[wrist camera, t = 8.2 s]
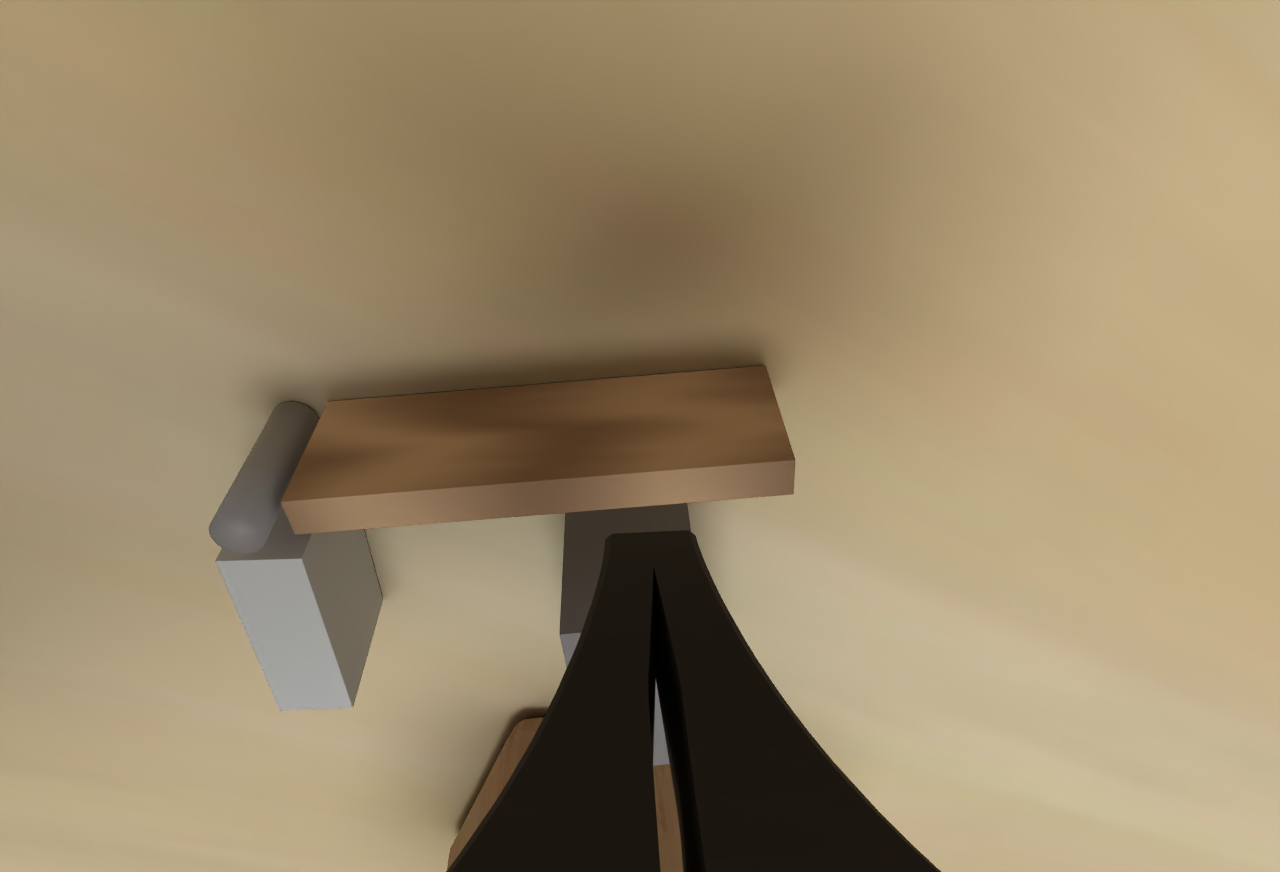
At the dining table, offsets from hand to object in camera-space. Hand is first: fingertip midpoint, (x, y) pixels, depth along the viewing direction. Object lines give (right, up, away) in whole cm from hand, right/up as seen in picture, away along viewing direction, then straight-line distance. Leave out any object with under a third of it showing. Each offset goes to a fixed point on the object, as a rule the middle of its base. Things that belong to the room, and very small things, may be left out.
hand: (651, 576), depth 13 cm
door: (-3, +3, +9) cm, 10 cm away
